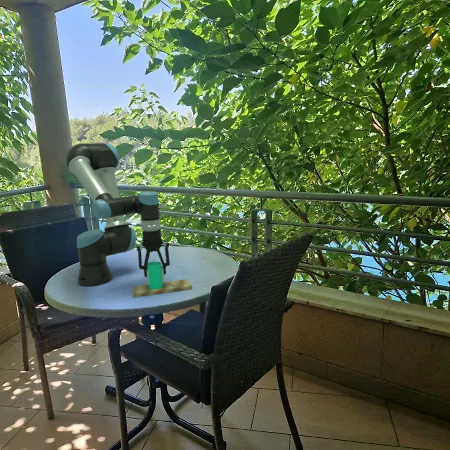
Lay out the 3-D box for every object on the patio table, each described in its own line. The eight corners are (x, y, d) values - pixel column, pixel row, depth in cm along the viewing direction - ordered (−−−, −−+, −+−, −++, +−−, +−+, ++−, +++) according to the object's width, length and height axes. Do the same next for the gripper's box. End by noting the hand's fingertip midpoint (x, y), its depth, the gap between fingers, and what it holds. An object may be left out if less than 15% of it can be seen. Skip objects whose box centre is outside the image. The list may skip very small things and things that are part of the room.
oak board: (133, 297, 137) (133, 294, 136) (133, 289, 145) (133, 286, 145) (192, 289, 143) (191, 285, 143) (188, 282, 151) (188, 278, 151)
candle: (160, 289, 140) (158, 262, 137) (146, 289, 140) (144, 262, 138) (164, 284, 146) (162, 257, 143) (151, 284, 146) (148, 257, 144)
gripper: (128, 233, 132) (133, 289, 137) (174, 229, 137) (178, 282, 142) (128, 229, 139) (133, 282, 144) (172, 225, 144) (176, 277, 149)
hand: (155, 282), depth 143 cm, fingers closed on candle, 5 cm apart
